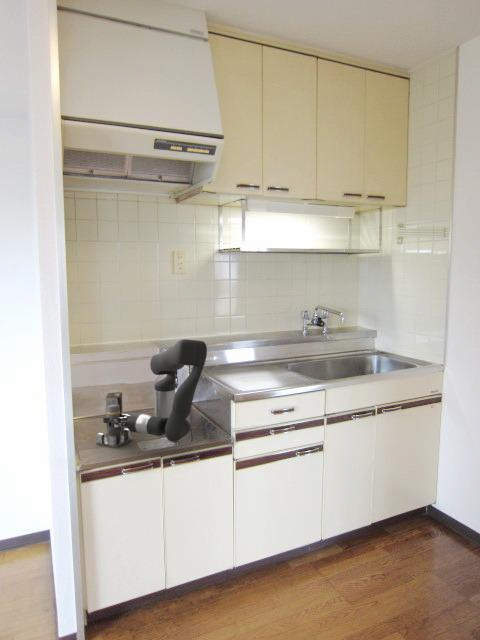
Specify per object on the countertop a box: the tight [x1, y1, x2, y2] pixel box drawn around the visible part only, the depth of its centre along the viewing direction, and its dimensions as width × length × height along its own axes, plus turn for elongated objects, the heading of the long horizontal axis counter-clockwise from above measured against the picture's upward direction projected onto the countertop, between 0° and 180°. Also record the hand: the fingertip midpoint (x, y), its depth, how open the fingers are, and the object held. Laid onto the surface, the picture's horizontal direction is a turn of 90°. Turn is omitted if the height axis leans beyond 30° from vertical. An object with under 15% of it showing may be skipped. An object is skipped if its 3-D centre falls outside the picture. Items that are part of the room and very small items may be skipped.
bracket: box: [95, 427, 133, 449], centre depth 186 cm, size 10×10×4 cm
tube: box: [107, 404, 121, 441], centre depth 185 cm, size 5×5×14 cm
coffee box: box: [105, 391, 124, 435], centre depth 199 cm, size 9×6×16 cm
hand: (108, 417), depth 186 cm, fingers open, 5 cm apart
